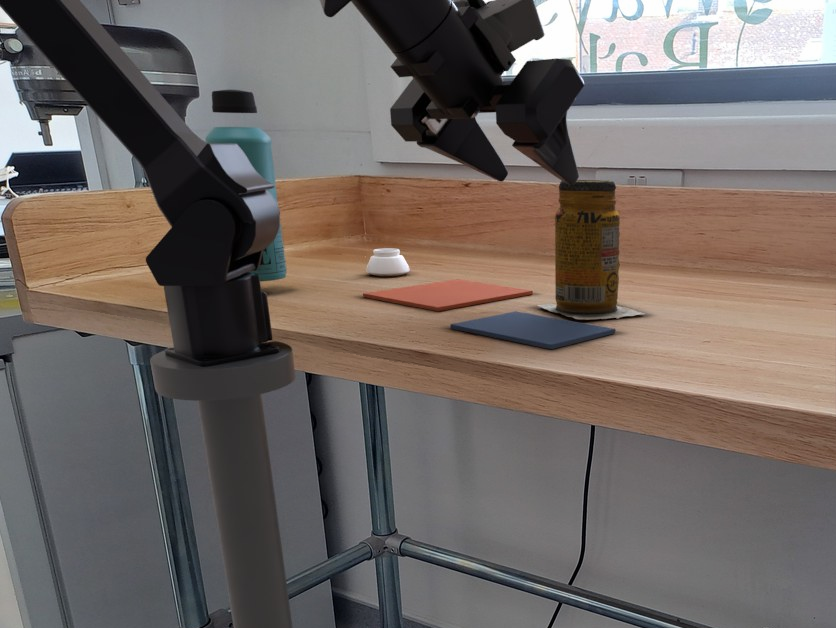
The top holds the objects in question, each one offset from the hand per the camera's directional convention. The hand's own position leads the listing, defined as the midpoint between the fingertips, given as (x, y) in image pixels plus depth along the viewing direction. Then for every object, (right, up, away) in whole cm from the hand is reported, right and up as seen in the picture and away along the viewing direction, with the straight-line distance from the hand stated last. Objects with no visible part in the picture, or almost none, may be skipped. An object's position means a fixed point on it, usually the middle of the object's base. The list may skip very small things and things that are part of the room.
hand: (538, 179), depth 73 cm
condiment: (+4, -10, +9) cm, 14 cm away
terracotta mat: (-11, -7, +17) cm, 21 cm away
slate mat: (0, -13, 0) cm, 13 cm away
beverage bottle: (-31, -7, +18) cm, 37 cm away
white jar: (-20, -2, +30) cm, 37 cm away
